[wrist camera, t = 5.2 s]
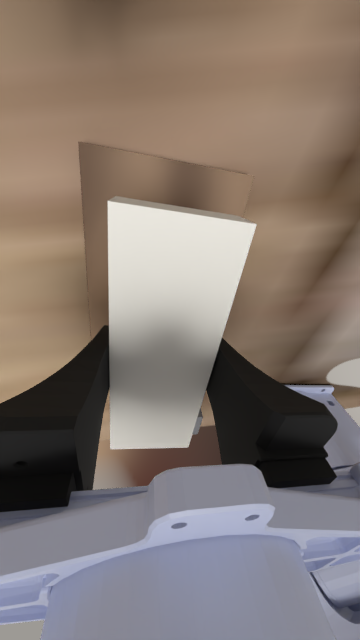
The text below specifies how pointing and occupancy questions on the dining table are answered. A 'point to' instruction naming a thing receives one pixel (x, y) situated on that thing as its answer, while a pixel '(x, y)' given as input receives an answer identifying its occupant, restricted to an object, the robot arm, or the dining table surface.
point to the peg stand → (148, 185)
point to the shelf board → (167, 314)
